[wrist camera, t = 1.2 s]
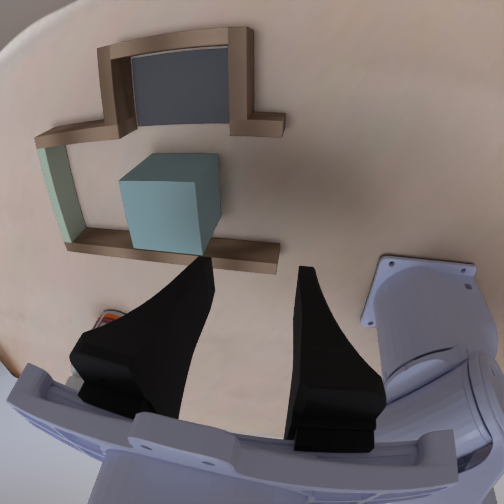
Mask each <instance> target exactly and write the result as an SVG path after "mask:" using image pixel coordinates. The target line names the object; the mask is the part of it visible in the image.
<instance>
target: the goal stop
mask: <svg viewBox="0 0 504 504" xmlns="http://www.w3.org/2000/svg"><path fill="white" fill-rule="evenodd" d="M37 152H38V156H39V161H40V165H41V169H42V173H43V176H44V180H45V184H46V187H47V191H48V194H49V198H50V201H51V204H52V208H53V211H54V214H55V217H56V220H57V223H58V226H59V229H60V232H61V235H62V238H63V240H64V242H69V243H72V242H73V241H74V240H75V239H76V238H77V237H78V236H79V235H80V234H81V232H82V231H83V230H84V229H85V228H86V226H85V223H84V219H83V216H82V213H81V209H80V206H79V202H78V198H77V194H76V191H75V187H74V183H73V179H72V175H71V170H70V166H69V162H68V157H67V152H66V148H65V145H60V146H53V147H47V148H40V149H37Z"/></svg>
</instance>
